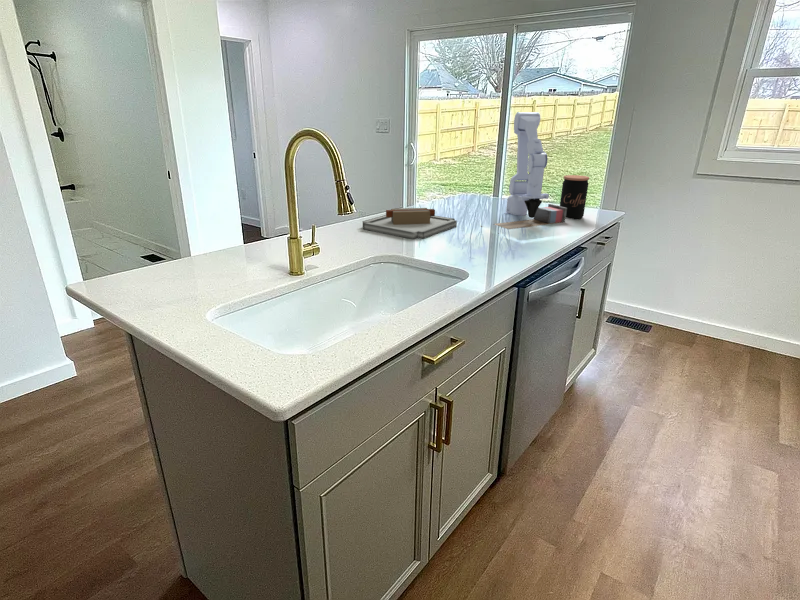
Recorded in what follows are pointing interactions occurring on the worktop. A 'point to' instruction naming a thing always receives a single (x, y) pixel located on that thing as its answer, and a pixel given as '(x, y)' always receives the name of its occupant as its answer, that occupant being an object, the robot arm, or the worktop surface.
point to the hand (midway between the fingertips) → (531, 217)
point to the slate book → (552, 215)
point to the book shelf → (531, 222)
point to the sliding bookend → (543, 215)
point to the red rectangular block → (557, 214)
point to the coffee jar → (574, 195)
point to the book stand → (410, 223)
